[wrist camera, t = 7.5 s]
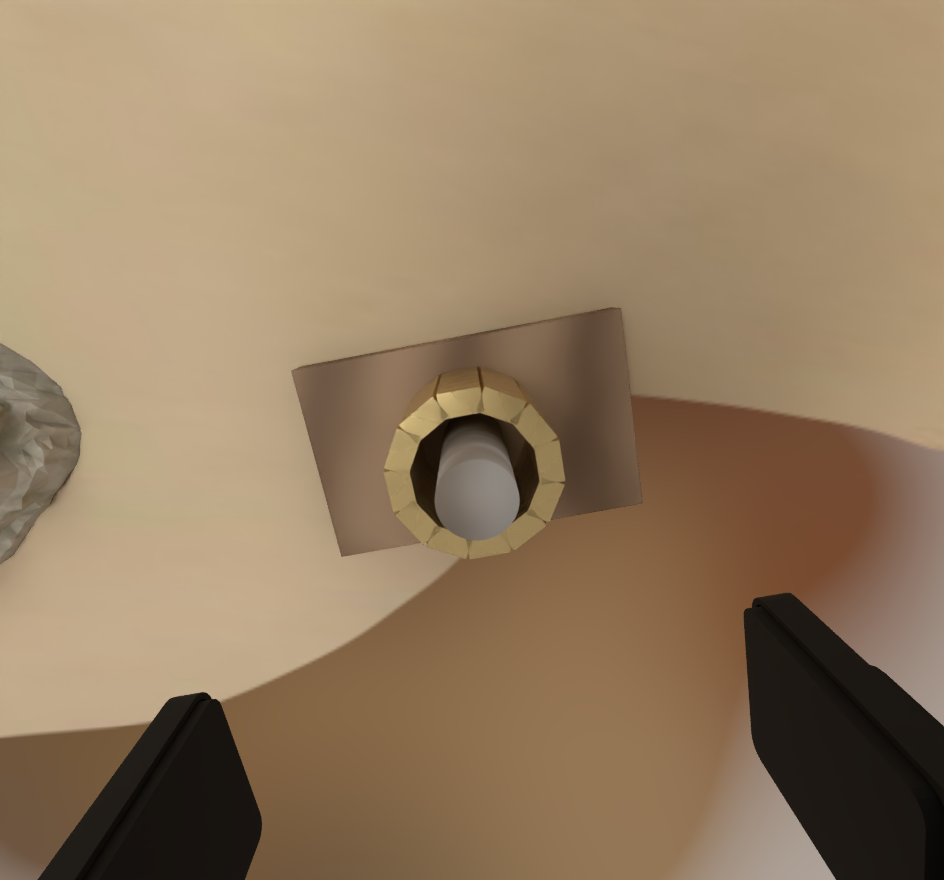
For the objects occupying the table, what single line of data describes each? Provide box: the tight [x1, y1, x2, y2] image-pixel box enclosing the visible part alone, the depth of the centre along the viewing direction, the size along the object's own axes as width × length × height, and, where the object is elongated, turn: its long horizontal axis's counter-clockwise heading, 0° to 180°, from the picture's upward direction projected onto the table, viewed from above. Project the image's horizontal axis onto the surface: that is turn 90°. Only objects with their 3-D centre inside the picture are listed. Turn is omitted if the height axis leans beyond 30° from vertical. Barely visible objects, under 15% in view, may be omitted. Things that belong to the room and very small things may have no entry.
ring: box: [384, 366, 565, 559], centre depth 25 cm, size 7×7×6 cm
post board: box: [291, 308, 643, 557], centre depth 24 cm, size 16×10×10 cm, turn 101°
